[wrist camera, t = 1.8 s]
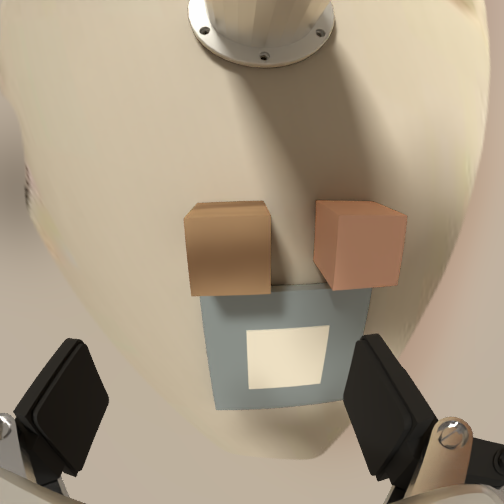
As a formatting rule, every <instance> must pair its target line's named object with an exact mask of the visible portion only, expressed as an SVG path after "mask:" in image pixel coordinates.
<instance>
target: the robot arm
mask: <svg viewBox="0 0 504 504" xmlns="http://www.w3.org/2000/svg"><path fill="white" fill-rule="evenodd" d="M188 19H189V22H190V25H191V28H192V30H193V32H194V34H195V36H196V37H197V39H198V40H199V41H200V42H201V43H202V45H203V46H205V47H206V48H207V49H208V50H210V51H211V52H212V53H213V54H215V55H217V56H219V57H221V58H223V59H225V60H228V61H231V62H233V63H236V64H240V65H245V66H250V67H264V68H270V67H280V66H285V65H289V64H293V63H296V62H299V61H301V60H303V59H306V58H308V57H309V56H311V55H312V54H314V53H315V52H317V51H318V49H319V48H320V47H321V46H322V45H323V44H324V43H325V42H326V41H327V39H328V38H329V36H330V34H331V32H332V29H333V27H334V19H335V15H334V8H333V5H332V2H331V0H189V4H188ZM204 33H208V34H206V35H203V34H204ZM317 35H319V36H320V37H319V36H317ZM262 57H265V58H266V59H267V60H266V61H264V60H261V58H262ZM343 401H344V405H345V407H346V410H347V413H348V415H349V418H350V420H351V423H352V426H353V428H354V431H355V434H356V436H357V439H358V442H359V444H360V447H361V450H362V453H363V455H364V458H365V461H366V464H367V466H368V469H369V472H370V474H371V475H372V476H374V475H376V478H377V481H381V480H384V479H387V478H389V479H390V482H391V484H392V487H391V490H390V492H389V494H388V496H387V498H386V500H385V502H384V504H504V445H503V444H498V443H494V442H490V441H485V440H481V439H477V438H473V432H472V429H471V427H470V426H469V425H468V423H467V422H465V421H464V420H462V419H460V418H457V417H446V418H443V419H441V420H439V421H438V419H437V418H436V416H435V414H434V413H433V411H432V410H431V408H430V407H429V405H428V403H427V402H426V401H425V399H424V397H423V396H422V394H421V393H420V391H419V390H418V388H417V387H416V385H415V384H414V382H413V381H412V379H411V378H410V376H409V375H408V373H407V372H406V370H405V369H404V368H403V367H402V366H401V365H400V363H399V362H398V360H397V359H396V357H395V356H394V355H393V353H392V352H391V350H390V349H389V347H388V346H387V345H386V343H385V342H384V340H383V339H382V338H381V336H380V335H379V334H371V335H364V336H362V337H361V338H360V340H358V341H356V344H355V348H354V353H353V357H352V361H351V366H350V370H349V374H348V378H347V382H346V386H345V390H344V393H343ZM108 403H109V397H108V394H107V392H106V390H105V388H104V386H103V383H102V381H101V379H100V377H99V374H98V372H97V370H96V367H95V365H94V362H93V360H92V357H91V355H90V352H89V350H88V347H87V345H86V344H84V343H83V341H82V340H80V339H72V338H68V339H66V340H65V341H64V342H63V343H62V345H61V346H60V347H59V348H58V350H57V351H56V352H55V354H54V355H53V356H52V357H51V359H50V360H49V361H48V363H47V364H46V366H45V367H44V368H43V369H42V371H41V372H40V374H39V375H38V376H37V378H36V379H35V381H34V382H33V383H32V385H31V386H30V388H29V389H28V390H27V392H26V393H25V395H24V396H23V398H22V399H21V401H20V402H19V404H18V405H17V407H16V408H15V410H14V411H13V412H14V413H15V415H16V418H15V419H14V418H13V417H12V416H11V415H9V414H7V413H0V504H85V503H82V502H80V501H77V500H74V499H71V498H70V497H69V495H68V492H67V490H66V488H65V485H64V483H63V480H62V477H61V474H62V471H63V472H64V473H66V474H69V475H72V476H74V477H76V476H77V473H78V471H80V470H82V468H83V466H84V463H85V460H86V458H87V455H88V452H89V450H90V447H91V445H92V442H93V440H94V437H95V435H96V432H97V430H98V427H99V425H100V423H101V420H102V418H103V415H104V413H105V411H106V408H107V406H108Z"/></svg>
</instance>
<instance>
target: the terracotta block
mask: <svg viewBox="0 0 504 504" xmlns="http://www.w3.org/2000/svg"><path fill="white" fill-rule="evenodd" d="M406 224H407V215H404V214H402V213H400V212H397V211H395V210H393V209H390V208H388V207H386V206H383V205H381V204H378V203H376V202H373V201H332V200H316V213H315V239H314V258H313V261H314V263H315V264H316V266H317V267H318V269H319V270H320V272H321V273H322V275H323V276H324V278H325V279H326V281H327V282H328V284H329V286H330V287H331V289H332V290H333V291H335V290H349V289H362V288H374V287H385V286H396V285H397V284H398V278H399V273H400V267H401V261H402V255H403V248H404V240H405V233H406Z"/></svg>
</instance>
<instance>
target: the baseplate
mask: <svg viewBox="0 0 504 504" xmlns="http://www.w3.org/2000/svg"><path fill="white" fill-rule="evenodd" d="M371 291H372V288H362V289H349V290H335V291H333V290H332V289H331V287H330V286H329V284H328V283H319V284H301V285H280V286H271V294H259V295H229V296H200V303H201V311H202V320H203V328H204V335H205V343H206V350H207V357H208V364H209V370H210V377H211V383H212V389H213V395H214V401H215V407H216V410H249V409H269V408H283V407H294V406H303V405H312V404H319V403H327V402H333V401H339V400H343V393H344V390H345V386H346V382H347V378H348V374H349V370H350V366H351V361H352V357H353V353H354V348H355V344H356V341H358V340H360V338H361V337H362V336H363V333H364V328H365V323H366V319H367V313H368V308H369V303H370V297H371Z"/></svg>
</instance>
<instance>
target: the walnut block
mask: <svg viewBox="0 0 504 504" xmlns="http://www.w3.org/2000/svg"><path fill="white" fill-rule="evenodd" d="M184 228H185V240H186V250H187V261H188V270H189V279H190V288H191V296H229V295H259V294H271V215H270V213H269V211H268V209H267V207H266V205H265V203H264V201H237V202H211V203H197V204H196V205H195V206H194V207H193V209H192V210H191V211H190V212H189V213H188V214H187V215H186V216H185V218H184Z"/></svg>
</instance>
